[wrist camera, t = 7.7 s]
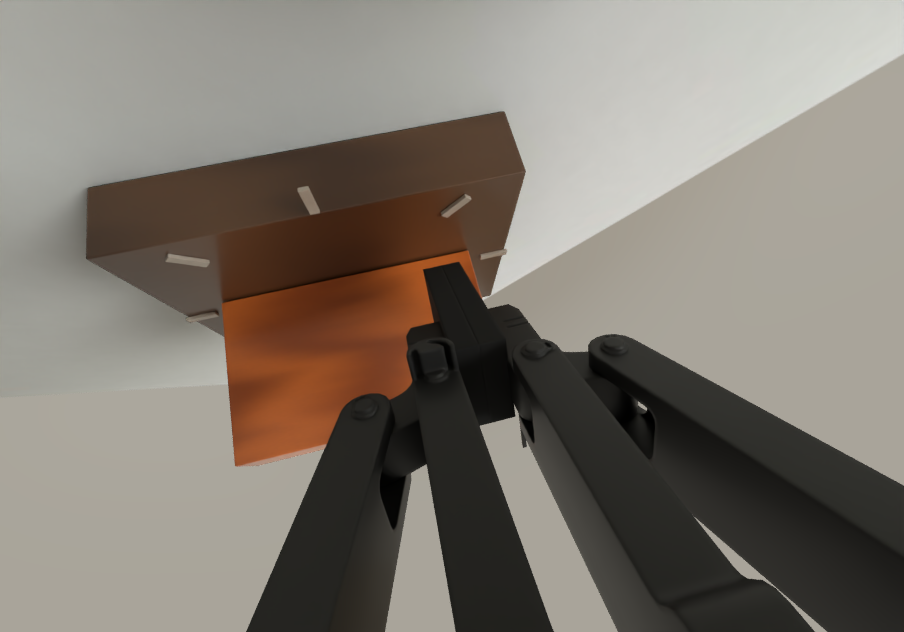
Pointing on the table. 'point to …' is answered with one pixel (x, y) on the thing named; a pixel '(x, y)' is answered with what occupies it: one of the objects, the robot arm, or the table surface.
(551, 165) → the table surface
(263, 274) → the dial panel
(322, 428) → the pointer
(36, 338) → the table surface
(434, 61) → the table surface
